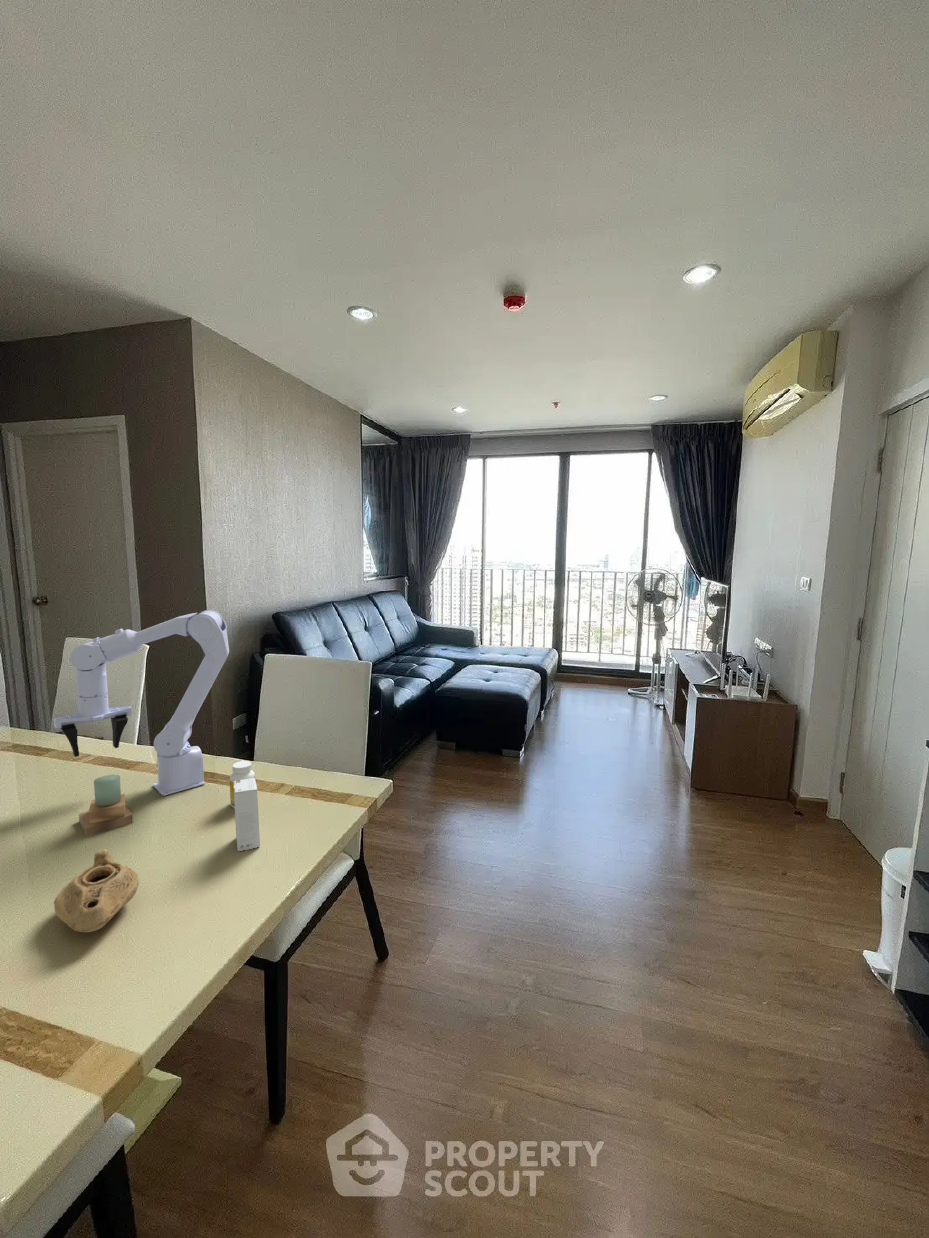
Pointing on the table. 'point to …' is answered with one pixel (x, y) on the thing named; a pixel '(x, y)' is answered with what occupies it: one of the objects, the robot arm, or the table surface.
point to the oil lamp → (96, 894)
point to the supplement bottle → (240, 775)
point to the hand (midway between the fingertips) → (96, 750)
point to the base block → (103, 823)
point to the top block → (106, 811)
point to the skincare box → (246, 814)
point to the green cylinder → (107, 790)
